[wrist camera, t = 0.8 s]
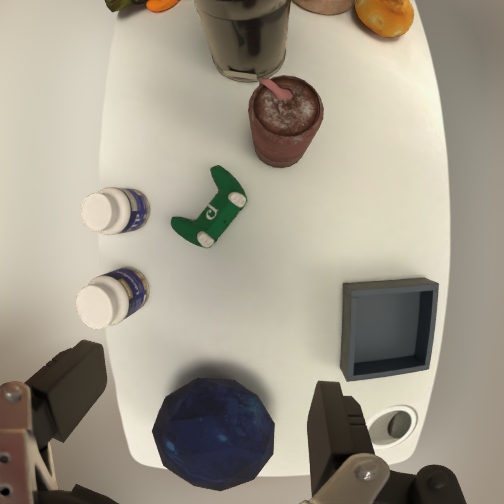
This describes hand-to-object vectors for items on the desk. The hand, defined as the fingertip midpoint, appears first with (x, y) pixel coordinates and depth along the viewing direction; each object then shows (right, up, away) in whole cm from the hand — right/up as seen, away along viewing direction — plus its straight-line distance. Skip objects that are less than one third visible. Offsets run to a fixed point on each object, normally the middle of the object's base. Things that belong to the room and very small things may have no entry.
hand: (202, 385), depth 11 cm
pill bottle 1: (-13, +10, +28) cm, 33 cm away
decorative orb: (-3, -16, +30) cm, 35 cm away
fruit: (+17, +38, +23) cm, 48 cm away
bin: (+19, -5, +28) cm, 34 cm away
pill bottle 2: (-14, 0, +29) cm, 32 cm away
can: (+5, +18, +26) cm, 32 cm away
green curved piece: (-3, +10, +28) cm, 29 cm away
